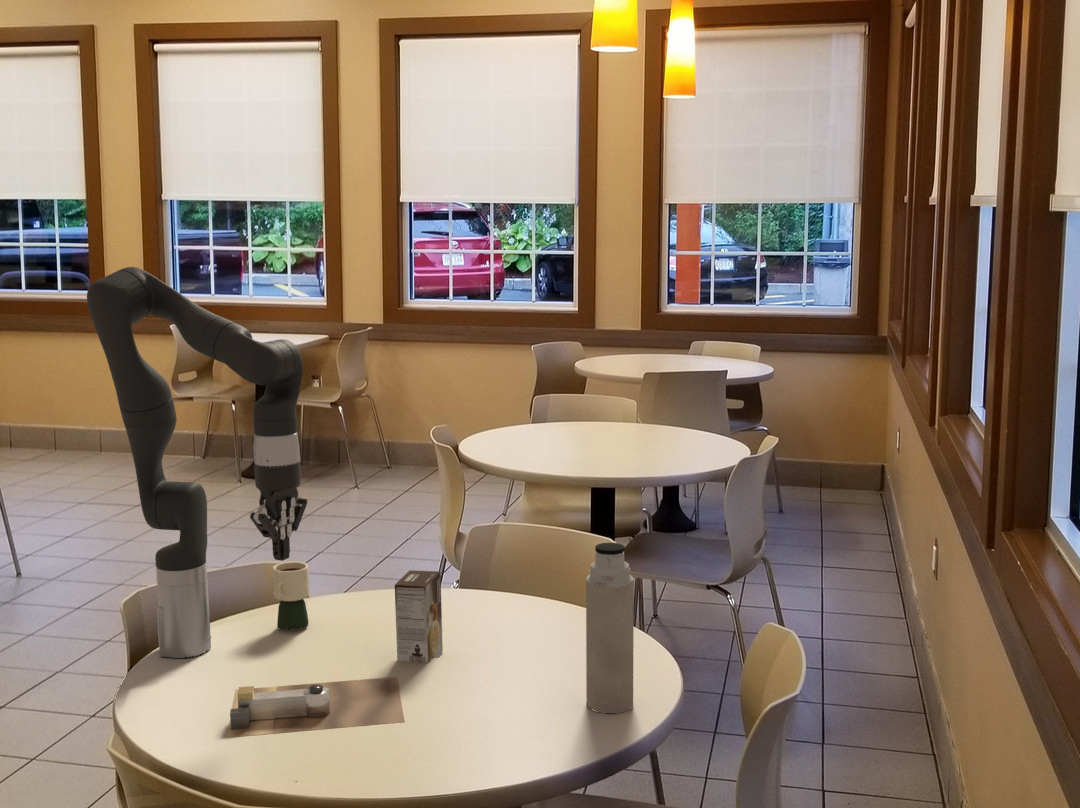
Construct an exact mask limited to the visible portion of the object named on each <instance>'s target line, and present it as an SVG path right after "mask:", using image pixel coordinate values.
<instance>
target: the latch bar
mask: <svg viewBox="0 0 1080 808" xmlns="http://www.w3.org/2000/svg"><path fill="white" fill-rule="evenodd" d="M254 688H255V686H254V685H251V686H239V687H238V689H237V690H238V694H237V695H238V708H247V707H249V721H250V720H262V719H275V718H287V717H300V716H308V717H321V716H325V715H327V714H329V713H330V711H331V709H330V690H329V688H327V687H323V686H322V685H320V684H315V685H311V686H310V687H309V688H307V689H300V690H287V691H274V692H260V693H254Z"/></svg>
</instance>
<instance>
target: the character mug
mask: <svg viewBox="0 0 1080 808" xmlns="http://www.w3.org/2000/svg"><path fill="white" fill-rule="evenodd" d="M308 565H309V564H307V563H305V562H301V561H286V562H281V563H280V562H279V563H278V564H275V565H273V566H272V582H273V586H274V587H273V592H272V593H273V596H274V598H275V599H276V600H279V604H278V610H277V626H276V628H277V629H278V630H288V631H289V630H290V631H291V630H301V629H306V627H308V626H309V622H310V621H309V617H308V609H307V605H306V601H305V600H304V599H306V598H308V597H309V596H310V579H309V578H310V576H309V566H308Z"/></svg>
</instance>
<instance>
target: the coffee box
mask: <svg viewBox="0 0 1080 808" xmlns="http://www.w3.org/2000/svg"><path fill="white" fill-rule="evenodd" d="M441 578H442V577H441V571H440V570H439V571H437V570H436V571H435V570H412V569H411V570H408V571H407V572H406V573H405V574H404V575H403V576H402V578H400V579H399V580H398V581H397V582H396V583H395V584H394V601H395V602H394V605H395V607H394V608H395V630H396V631H395V632H396V633H395V634H396V635H395V636H396V659H397V662H408V663H422V664H423V663H424V664H428V663H430V662H431V661H432V660H433V659H437V658H439V656H440V655H441V654H442V652H443V650H444V648H443V646H444V645H443V622H442V621H443V620H442V618H443V616H442V612H443V611H442V610H443V609H442V584H441V583H442V582H441Z"/></svg>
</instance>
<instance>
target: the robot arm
mask: <svg viewBox="0 0 1080 808" xmlns="http://www.w3.org/2000/svg"><path fill="white" fill-rule="evenodd" d="M86 302H87V303H86V304H87V308H88V312H89V315H90V318H91V320H92V323H93V327H94V329H95V332H96V334H97V336H98V339H99V342H100V344H101V346H102V347H101V348H102V350H103V352H104V355H105V358H106V361H107V365H108V368H109V372H110V374H111V379H112V382H113V385H114V389H115V392H116V397H117V402H118V406H119V410H120V414H121V418H122V421H123V424H124V428H125V432H126V435H127V438H128V442H129V446H130V449H131V455H132V458H133V464H134V468H135V469H134V470H135V475H136V482H137V487H138V488H137V489H138V495H139V500H140V507H141V511H142V515H143V517H144V520H145V522H146V524H147V525H148V526H149V527H150V528H152V529H156V530H163V531H165V530H166V531H179V540H178V541H177V542H175V543H171V544H168V545H165V546H163V547H161V548H160V549H158V550H157V551H156V553H155V555H154V557H155V559H154V560H155V572H156V573H155V574H156V575H155V576H156V584H157V588H156V589H157V601H158V605H157V608H156V617H157V618H156V619H157V620H156V621H157V622H156V623H157V635H158V637H157V638H158V650H159V657H160V658H161V657H166V658H171V659H172V658H173V659H186V658H185V657H187V658H192V656H193V657H197V656H201V655H203V654H205V653H207V652H208V651H210V650H211V648H212V635H211V621H210V617H211V616H210V605H209V604H210V603H209V586H208V569H207V568H208V567H207V548H208V500H207V495H206V491H205V488H204V487H203V485H202V484H201V483H199V482H193V481H177V480H176V481H175V480H174V481H173V480H172V481H171V480H167V478H166V476H165V475H164V469H163V458H164V453H165V451H166V449H167V447H168V444H169V443H170V441H171V438H172V436H173V435H174V432H175V429H176V425H177V412H176V408H175V403H174V398H173V395H172V391H171V387H170V385H169V383H168V382H167V380H166V379H165V377H164V376H162V374H161V373H160V372H159V371H157V370H156V369H155V368H154V367H153V366H152V365H151V364H150V363H148V362H147V361H146V360H145V359H144V358H143V357H142V355H141V353H140V352H139V350H138V347H137V345H136V341H135V338H134V332H133V328H132V327H133V324H136V323H137V322H140V321H142V320H143V319H145V318H147V317H149V316H155V317H159V318H162V319H165V320H167V321H170V322H171V323H172V324H173V325H174V326H175V327H176V329H177V330H178V332H179V334H180V336H181V337H182V338H183V340H184V341H185V342H186V344H187V345H189V346H190V347H191V348H192V349H193V350H195V351H196V352H198V353H200V354H202V355H204V356H206V357H208V358H210V359H213V360H215V361H218V362H220V363H222V364H225V365H226V366H227V368H229V369H230V370H232V371H233V372H234V373H235V374H237V375H238V376H240V377H241V378H243V380H245V381H247V382H249V383H251V384H255V385H259V386H265V388H264V389H265V390H264V394H263V395H262V396H261V397H260V398H259V399H257V401H255V402H254V404H253V411H252V412H253V429H254V430H253V431H254V432H253V433H254V438H253V439H254V441H253V461H254V462H253V463H254V464H253V465H254V479H255V480H254V481H255V487H256V489H257V490H259V492H260V497H259V500H258V504H259V508H258V509H257V510H256V512H254V511H253V512H251V513H250V515H249V519H250V520H251V521H252V522H253V524H254V525H255V527H256V528H257V529H258V531H259V532H260V534H261V535H262V537H263V538H268V539H271V541H272V542H271V543H272V544H271V545H272V555H273V559H274V560H276V561H282V562H283V561H285V560H287V559H289V558H290V553H291V546H290V541H291V540H290V538H291V536H292V533H293V532H297V531H298V529H299V526H300V523H301V522H302V519H303V516H304V513H305V510H306V508H307V504H308V499H307V498H301V497H300V496H299V490H298V489H297V488H299V487H300V486H301V484H302V475H301V474H302V473H301V454H300V453H301V451H300V448H301V447H300V442H299V441H300V440H299V436H298V416H297V404H298V400H299V395H300V391H301V387H302V386H301V384H302V380H303V379H302V378H303V371H304V365H303V364H304V363H303V357H302V354H301V351H300V349H299V348H298V347H297V345H296V344H295V343H294V342H292V341H290V340H288V339H280V338H279V339H274V340H269V341H263V342H262V341H257V340H255V339H253V335H252V333H251V331H249V330H248V328H246V327H244V326H243V325H240V324H238V323H236V322H234V321H232V320H230V319H227V318H225V317H223V316H220V315H218V314H215V313H213V312H212V311H210V310H207V309H205V308H203V307H202V306H200V305H198V304H197V303H195V302H193V301H192V300H190V299H189V297H188V298H187V297H186V296H185V295H183V294H182V293H180V292H179V291H177V290H175V289H174V288H173V287H172V286H170V285H168V284H167V283H165V282H164V281H162V280H160V279H159V278H158V277H156V276H155V275H153V274H151V273H150V272H148V271H146V270H144V269H143V268H140V267H137V266H136V267H135V266H127V267H124V268H121V269H118V270H116V271H114V272H113V273H112V272H111V273H110V274H108V275H105V276H104V277H101V278H99V279H98V280H96V281H94V282H92V283H91V284H90V285H89V287H88V289H87V293H86ZM209 649H210V650H209ZM207 650H208V651H207ZM206 651H207V652H206ZM202 653H203V654H202ZM200 654H201V655H200Z"/></svg>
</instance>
